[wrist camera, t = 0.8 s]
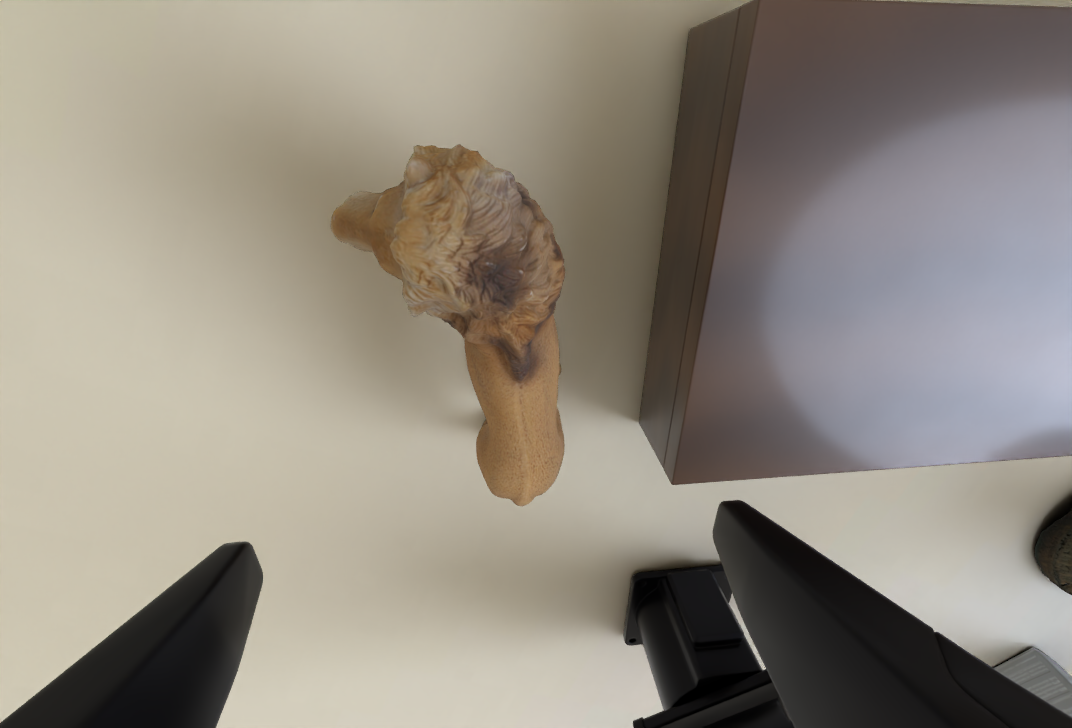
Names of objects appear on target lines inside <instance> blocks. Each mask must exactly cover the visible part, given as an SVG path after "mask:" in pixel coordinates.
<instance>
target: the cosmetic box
mask: <svg viewBox="0 0 1072 728" xmlns="http://www.w3.org/2000/svg"><path fill="white" fill-rule="evenodd" d="M993 669H995V670H996V671H998V672H999V673H1001V674H1002V675H1004V676H1006V677H1007V678H1009V679H1010V680H1012V681H1014V682H1015V683H1017V684H1019V685H1020V686H1022V687H1023V688H1025V689H1027V690H1028V691H1030V692H1032V693H1033V694H1035V695H1036V696H1038V697H1040V698H1041V699H1043V700H1045V701H1046V702H1048V703H1049V704H1051V705H1053V706H1054V707H1056V708H1058V709H1059V710H1061V711H1063V712H1064V713H1066V714H1068V715H1069V716H1071V717H1072V677H1071V676H1070V675H1069V674H1068V673H1067V672H1066V671H1065V670H1064V669H1063V668H1062V667H1061V666H1059V665H1058V664H1057V663H1056V662H1055V661H1053V660H1052V659H1051V658H1050V657H1048V656H1047V655H1045V654H1044V653H1043V652H1041V651H1040V650H1038V649H1035V648H1031V649H1029V650H1027V651H1025V652H1023V653H1022V654H1020V655H1018V656H1016V657H1014V658H1012V659H1010V660H1008V661H1006V662H1005V663H1003V664H1001V665H999V666H997V667H995V668H993Z"/></svg>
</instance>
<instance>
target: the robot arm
mask: <svg viewBox="0 0 1072 728" xmlns="http://www.w3.org/2000/svg"><path fill="white" fill-rule="evenodd" d="M713 540H714V543H715V546H716V549H717V552H718V554H719V557H720V560H721V563H722V565H717V566H706V567H695V568H684V569H674V570H663V571H652V572H641V573H637V574H635V575H634V576H633V577H632V580H631V587H630V594H629V600H628V607H627V614H626V621H625V628H624V634H623V636H624V640H625V643H626V644H627V645H639V644H643V646H644V649H645V652H646V655H647V658H648V662H649V665H650V668H651V671H652V674H653V677H654V681H655V684H656V687H657V690H658V693H659V696H660V700H661V703H662V706H663V709H664V711H662V712H659V713H657V714H655V715H652V716H650V717H647V718H645V719H643V718H639V719H637V720H634V721H633V726H634V728H1072V717H1071V716H1069V715H1068V714H1066V713H1064V712H1063V711H1061V710H1059V709H1058V708H1056V707H1054V706H1053V705H1051V704H1049V703H1048V702H1046V701H1045V700H1043V699H1041V698H1040V697H1038V696H1036V695H1035V694H1033V693H1032V692H1030V691H1028V690H1027V689H1025V688H1023V687H1022V686H1020V685H1019V684H1017V683H1015V682H1014V681H1012V680H1010V679H1009V678H1007V677H1006V676H1004V675H1002V674H1001V673H999V672H998V671H996V670H995V669H993V668H992V667H990V666H989V665H987V664H986V663H984V662H983V661H981V660H979V659H978V658H976V657H975V656H973V655H972V654H970V653H969V652H967V651H966V650H964V649H963V648H961V647H960V646H958V645H957V644H955V643H954V642H952V641H951V640H949V639H948V638H946V637H945V636H943V635H942V634H940V633H939V632H934V630H933V629H932V628H931V627H930V626H928V625H927V624H925V623H924V622H922V621H921V620H919V619H918V618H916V617H915V616H913V615H912V614H910V613H909V612H907V611H906V610H904V609H903V608H901V607H900V606H898V605H897V604H895V603H894V602H892V601H891V600H889V599H888V598H886V597H885V596H883V595H882V594H881V593H879V592H878V591H876V590H875V589H873V588H872V587H870V586H869V585H867V584H866V583H864V582H863V581H861V580H860V579H858V578H857V577H855V576H854V575H852V574H851V573H849V572H848V571H846V570H845V569H843V568H842V567H840V566H839V565H837V564H836V563H834V562H833V561H831V560H830V559H828V558H827V557H825V556H824V555H822V554H821V553H819V552H818V551H817V550H815V549H814V548H812V547H811V546H809V545H808V544H806V543H805V542H803V541H802V540H800V539H799V538H797V537H796V536H794V535H793V534H791V533H790V532H788V531H787V530H785V529H784V528H782V527H781V526H779V525H778V524H776V523H775V522H773V521H772V520H770V519H769V518H767V517H766V516H764V515H763V514H761V513H760V512H758V511H757V510H756V509H754V508H753V507H751V506H750V505H748V504H747V503H745V502H743V501H740V500H734V501H723V502H721V503H720V505H719V507H718V511H717V515H716V519H715V524H714V528H713ZM262 583H263V572H262V569H261V566H260V564H259V561H258V559H257V556H256V554H255V551H254V549H253V546H252V545H251V544H250V543H249V542H234V543H226V544H224V545H222V546H220V547H219V548H218V549H216V550H215V551H214V552H213V553H211V554H210V555H209V556H208V557H206V558H205V559H204V560H203V561H201V562H200V563H199V564H198V565H196V566H195V567H194V568H193V569H191V570H190V571H189V572H188V573H187V574H185V575H184V576H183V577H182V578H180V579H179V580H178V581H177V582H175V583H174V584H173V585H172V586H170V587H169V588H168V589H167V590H165V591H164V592H163V593H162V594H160V595H159V596H158V597H157V598H155V599H154V600H153V601H152V602H150V603H149V604H148V605H147V606H145V607H144V608H143V609H142V610H140V611H139V612H138V613H137V614H135V615H134V616H133V617H132V618H130V619H129V620H128V621H127V622H125V623H124V624H123V625H122V626H120V627H119V628H118V629H117V630H116V631H114V632H113V633H112V634H111V635H109V636H108V637H107V638H106V639H104V640H103V641H102V642H101V643H99V644H98V645H97V646H96V647H94V648H93V649H92V650H91V651H89V652H88V653H87V654H86V655H84V656H83V657H82V658H81V659H79V660H78V661H77V662H76V663H74V664H73V665H72V666H71V667H69V668H68V669H67V670H66V671H64V672H63V673H62V674H61V675H59V676H58V677H57V678H56V679H54V680H53V681H52V682H51V683H49V684H48V685H47V686H46V687H45V688H43V689H42V690H41V691H40V692H38V693H37V694H36V695H35V696H33V697H32V698H31V699H30V700H28V701H27V702H26V703H25V704H23V705H22V706H21V707H20V708H18V709H17V710H16V711H15V712H13V713H12V714H11V715H10V716H8V717H7V718H6V719H5V720H3V721H2V722H1V723H0V728H216V726H217V723H218V721H219V718H220V715H221V713H222V710H223V708H224V705H225V703H226V700H227V698H228V695H229V693H230V690H231V687H232V685H233V682H234V679H235V677H236V674H237V671H238V668H239V664H240V661H241V658H242V655H243V651H244V648H245V644H246V640H247V637H248V633H249V630H250V626H251V623H252V619H253V616H254V612H255V609H256V605H257V602H258V598H259V594H260V591H261V587H262ZM732 593H733V596H734V598H735V601H736V604H737V606H738V609H739V611H740V614H741V617H742V619H743V621H744V623H745V625H746V628H747V630H748V632H749V634H750V636H751V638H752V640H753V642H754V644H755V646H756V648H757V651H758V653H759V655H760V657H761V659H762V661H763V663H764V665H765V667H766V669H765V670H762V668H761V666H760V664H759V662H758V660H757V659H756V657H755V655H754V653H753V651H752V649H751V647H750V645H749V643H748V641H747V639H746V637H745V635H744V632H743V630H742V628H741V627H740V625H739V623H738V621H737V619H736V617H735V615H734V613H733V611H732V609H731V607H730V605H729V601H730V598H731V594H732Z"/></svg>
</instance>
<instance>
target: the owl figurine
mask: <svg viewBox="0 0 1072 728" xmlns="http://www.w3.org/2000/svg"><path fill="white" fill-rule="evenodd" d="M1035 556H1036V560H1037V563H1038V565H1039V566H1040V568H1041V571H1042V574H1044V576H1047V577H1048V578H1049V579H1050V581H1052V582H1053V583H1054V584H1056V585H1057V586H1058V587H1059V588H1061V589H1062V590H1064V591H1065V592H1067V593H1069V594H1071V595H1072V510H1071V511H1070V512H1069V513H1068V514H1067V515H1065V516H1064V517H1062V518H1061V519H1058V520H1057V521H1055V522H1054V523H1053V524H1052V525H1050V526H1049V527H1048V528H1047V529H1046V530H1043V531H1042V533H1041V535H1040V537H1039V539H1038V541H1037V543H1036V546H1035ZM1065 583H1070V585H1069V584H1065Z"/></svg>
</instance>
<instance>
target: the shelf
mask: <svg viewBox="0 0 1072 728" xmlns="http://www.w3.org/2000/svg"><path fill="white" fill-rule="evenodd" d="M639 424H640V426H641V428H642V429H643V431H644V433H645V435H646V437H647V439H648V441H649V443H650V444H651V446H652V448H653V450H654V452H655V454H656V456H657V458H658V459H659V461H660V463H661V465H662V467H663V468H664V471H665V473H666V475H667V477H668V478H669V480H670V482H671V484H672V485H678V484H692V483H705V482H719V481H732V480H746V479H760V478H773V477H787V476H801V475H814V474H828V473H841V472H855V471H869V470H882V469H896V468H909V467H923V466H937V465H950V464H964V463H978V462H991V461H1005V460H1018V459H1032V458H1046V457H1059V456H1072V7H1051V6H1022V5H993V4H964V3H935V2H906V1H876V0H753V1H750V2H748V3H746V4H744V5H742V6H740V7H738V8H735V9H733V10H731V11H729V12H727V13H724V14H722V15H720V16H718V17H716V18H713V19H711V20H709V21H707V22H704V23H702V24H700V25H698V26H696V27H693V28H691V29H690V31H689V37H688V45H687V53H686V61H685V69H684V76H683V84H682V92H681V100H680V107H679V115H678V123H677V131H676V139H675V146H674V154H673V162H672V170H671V178H670V185H669V193H668V201H667V209H666V216H665V224H664V232H663V240H662V248H661V255H660V263H659V271H658V279H657V287H656V294H655V302H654V310H653V318H652V325H651V333H650V341H649V349H648V357H647V364H646V372H645V380H644V388H643V395H642V403H641V411H640V419H639Z"/></svg>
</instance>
